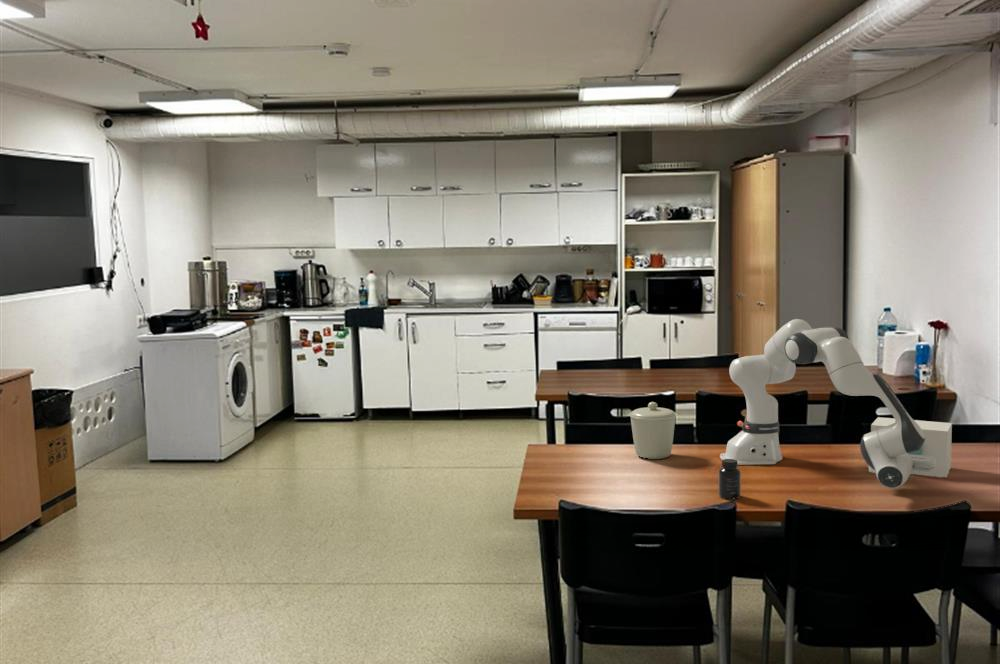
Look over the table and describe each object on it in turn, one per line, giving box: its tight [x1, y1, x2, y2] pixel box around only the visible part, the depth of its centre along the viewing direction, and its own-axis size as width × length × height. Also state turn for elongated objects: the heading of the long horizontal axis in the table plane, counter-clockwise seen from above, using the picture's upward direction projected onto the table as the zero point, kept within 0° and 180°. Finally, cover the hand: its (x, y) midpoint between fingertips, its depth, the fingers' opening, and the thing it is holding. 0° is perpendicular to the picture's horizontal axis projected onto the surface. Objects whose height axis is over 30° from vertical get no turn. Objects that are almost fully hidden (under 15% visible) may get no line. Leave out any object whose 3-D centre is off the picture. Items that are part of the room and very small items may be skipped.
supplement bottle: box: [718, 459, 742, 500], centre depth 282 cm, size 7×7×12 cm
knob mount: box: [870, 416, 953, 479], centre depth 308 cm, size 14×24×16 cm, turn 58°
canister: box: [628, 401, 678, 460], centre depth 335 cm, size 18×18×21 cm
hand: (903, 455), depth 291 cm, fingers closed
